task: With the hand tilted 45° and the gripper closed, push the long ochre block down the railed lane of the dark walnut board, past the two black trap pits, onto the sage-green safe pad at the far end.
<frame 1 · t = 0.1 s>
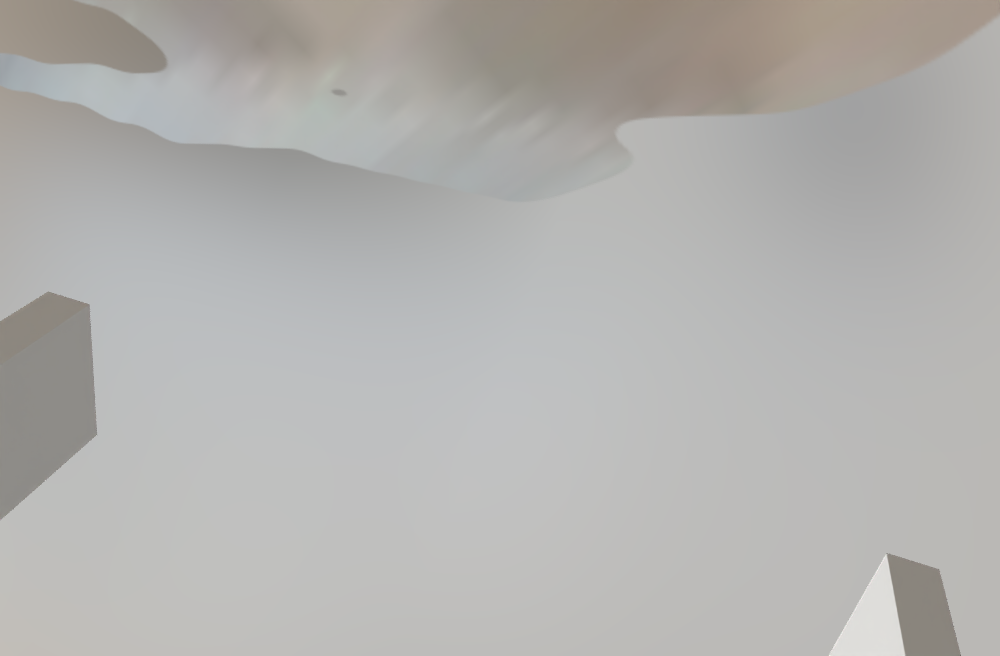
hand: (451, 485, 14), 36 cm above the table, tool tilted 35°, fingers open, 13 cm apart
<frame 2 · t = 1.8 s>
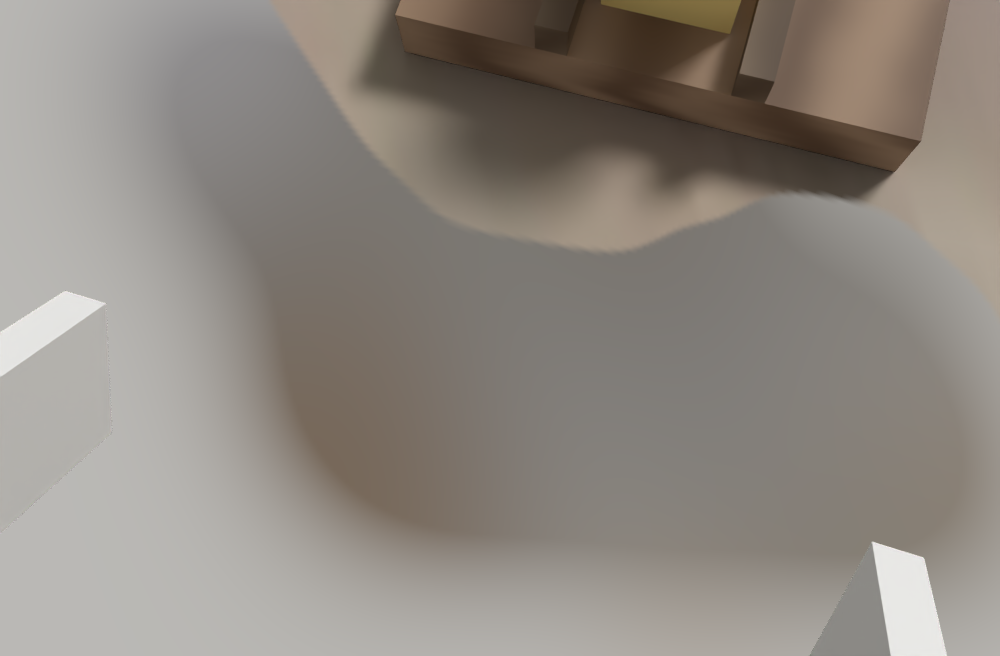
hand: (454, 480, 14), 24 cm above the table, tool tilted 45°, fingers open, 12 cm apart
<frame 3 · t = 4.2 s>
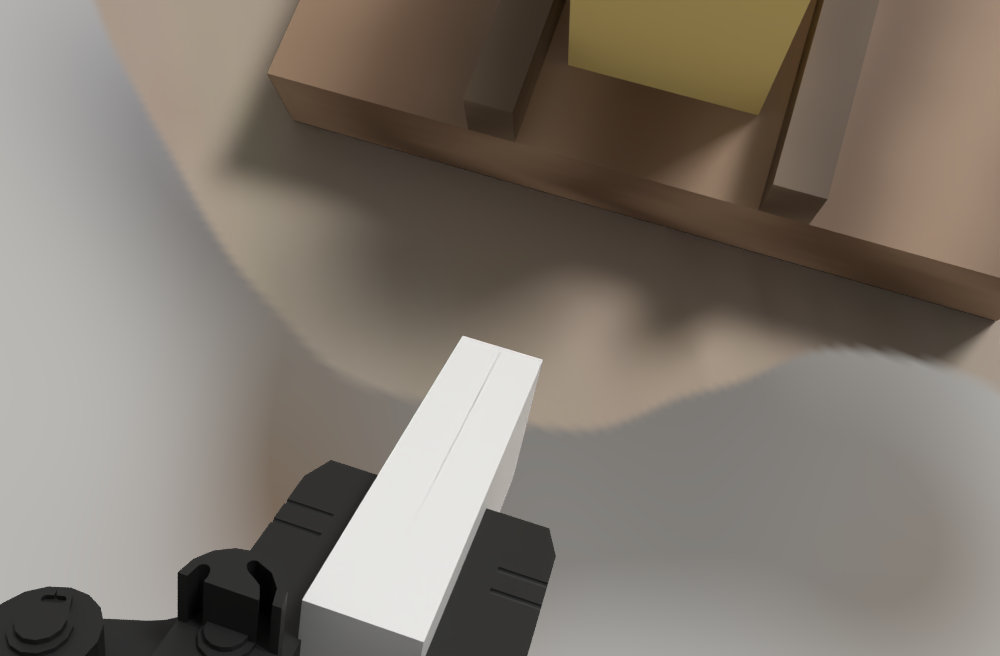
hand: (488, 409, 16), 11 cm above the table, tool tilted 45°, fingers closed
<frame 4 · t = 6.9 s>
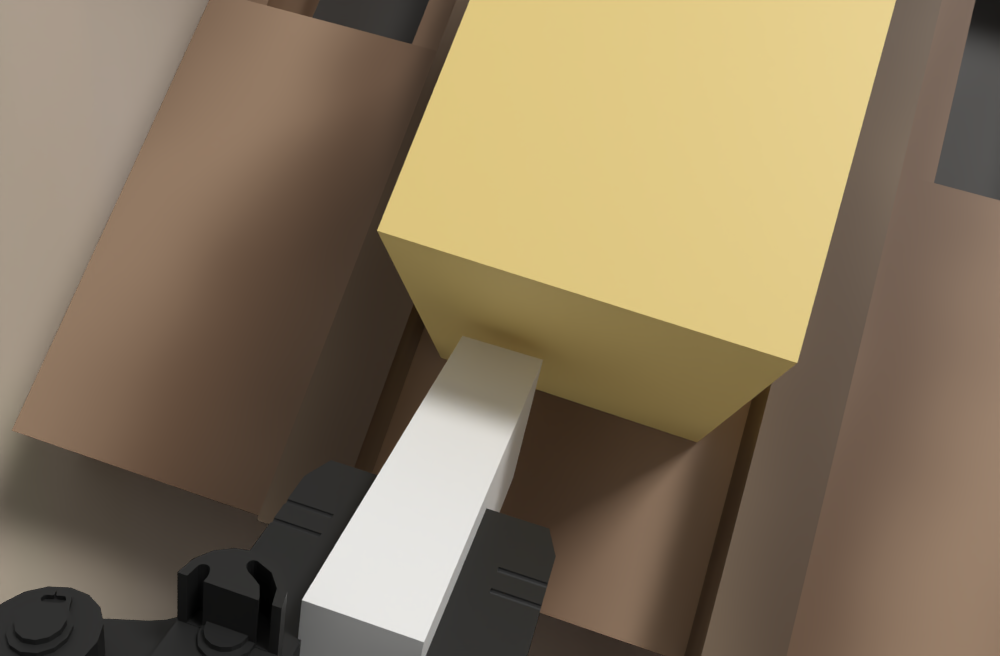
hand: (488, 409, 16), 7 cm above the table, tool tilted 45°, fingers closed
ochre block: (632, 201, 21), point 3 cm above the table, touching gripper
trap board: (687, 40, 25), on the table
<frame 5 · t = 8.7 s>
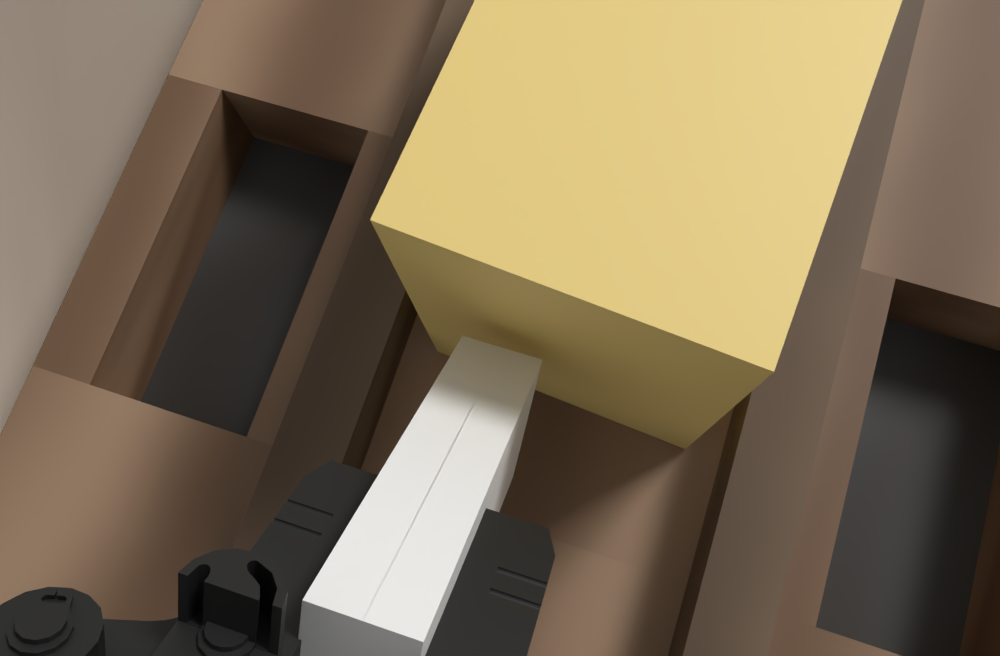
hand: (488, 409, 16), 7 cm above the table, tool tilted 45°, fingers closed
ochre block: (635, 206, 21), point 3 cm above the table
trap board: (569, 383, 23), on the table
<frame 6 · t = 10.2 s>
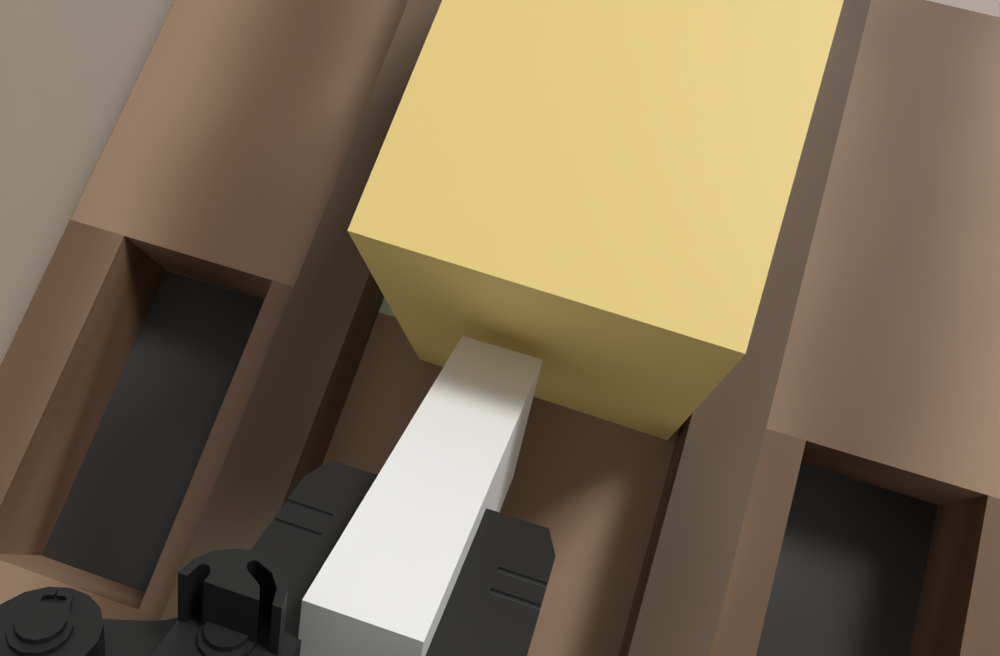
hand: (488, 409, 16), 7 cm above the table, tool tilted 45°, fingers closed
ochre block: (605, 207, 22), point 3 cm above the table, touching gripper
trap board: (483, 531, 23), on the table
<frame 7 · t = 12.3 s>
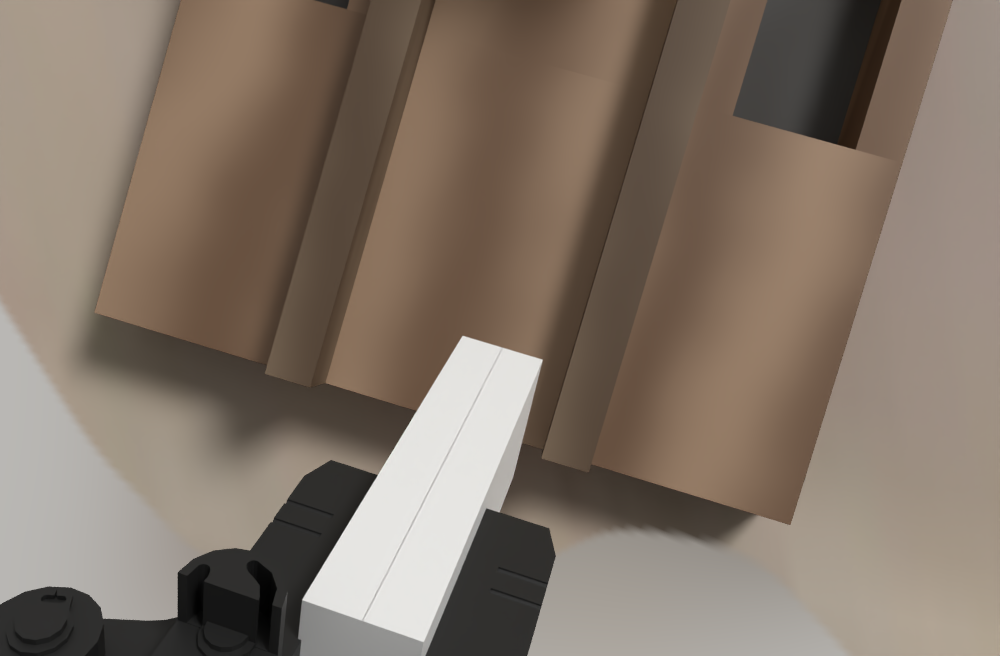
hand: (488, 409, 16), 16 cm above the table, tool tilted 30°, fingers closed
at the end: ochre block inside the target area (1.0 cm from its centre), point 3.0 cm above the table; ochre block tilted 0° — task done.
